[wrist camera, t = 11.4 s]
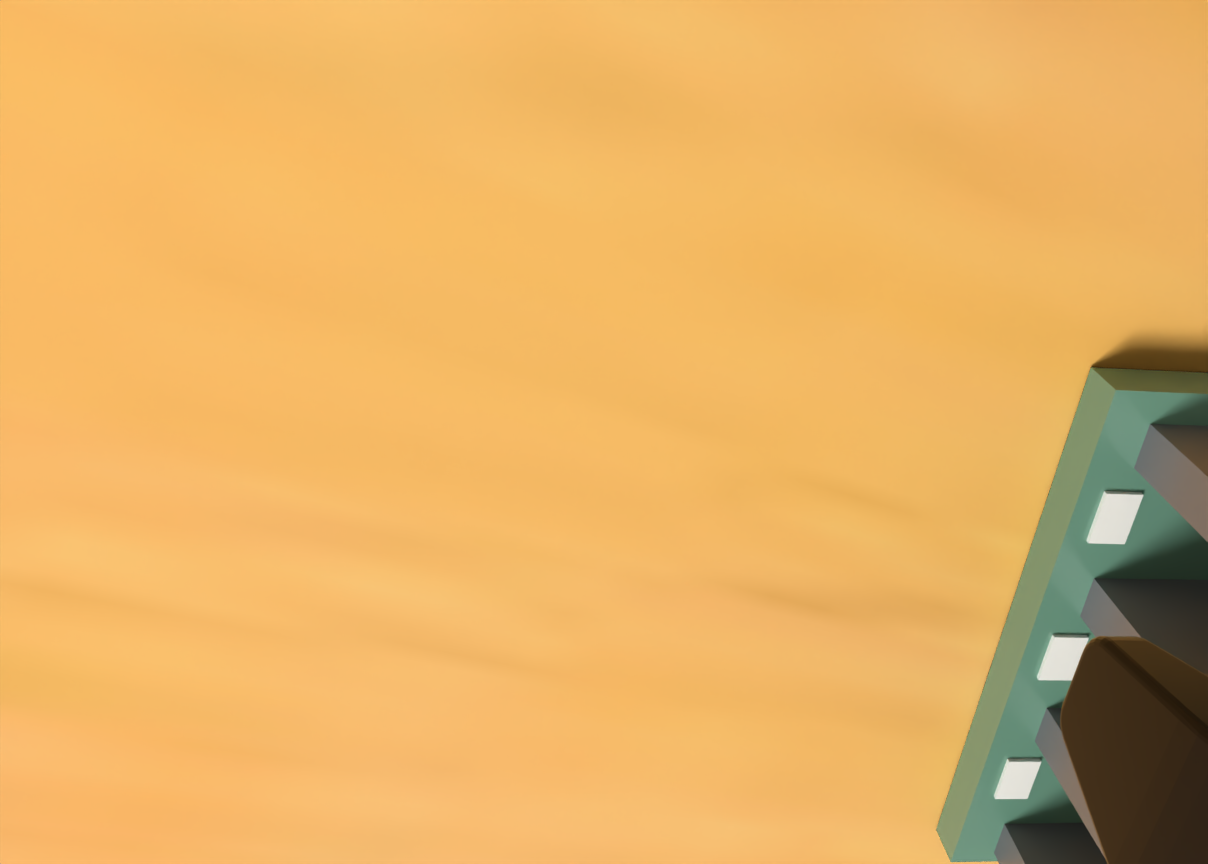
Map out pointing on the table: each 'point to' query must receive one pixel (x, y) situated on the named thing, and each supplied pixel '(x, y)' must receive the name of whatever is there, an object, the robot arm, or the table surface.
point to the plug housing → (1129, 608)
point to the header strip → (1071, 598)
